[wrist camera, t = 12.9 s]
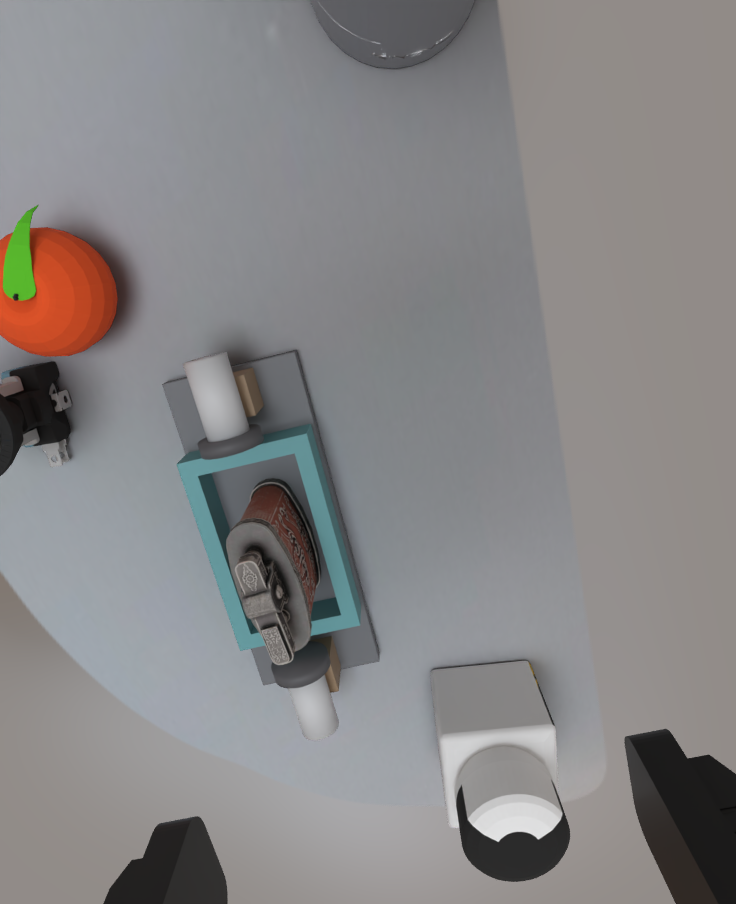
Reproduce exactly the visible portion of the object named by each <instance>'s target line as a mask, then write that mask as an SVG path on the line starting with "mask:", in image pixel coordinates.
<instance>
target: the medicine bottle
mask: <svg viewBox="0 0 736 904" xmlns="http://www.w3.org/2000/svg"><path fill="white" fill-rule="evenodd" d="M430 678H431V687H432V697H433V706H434V715H435V724H436V733H437V742H438V751H439V759H440V766H441V774H442V781H443V789H444V797H445V804H446V811H447V819H448V823H449V826H450V827H452V828H460V835H461V841H462V847H463V850H464V853H465V855H466V857H467V858H468V860H469V861H470V862H471V863H472V865H474V866H475V867H476V868H477V869H479V870H480V871H481V872H483V873H484V874H486V875H488V876H490V877H492V878H495V879H498V880H503V881H511V882H515V881H516V882H518V881H525V880H531V879H534V878H537V877H539V876H541V875H543V874H545V873H547V872H548V871H550V870H551V869H552V868H554V867H555V865H557V864H558V862H559V861H560V860H561V858H562V857H563V855H564V854H565V852H566V850H567V848H568V844H569V840H570V829H569V825H568V822H567V819H566V816H565V813H564V810H563V807H562V805H561V802H560V799H559V787H558V766H557V745H556V728H555V725H554V723H553V720H552V718H551V715H550V713H549V710H548V708H547V705H546V702H545V700H544V697H543V695H542V692H541V690H540V687H539V685H538V682H537V680H536V677H535V674H534V672H533V669H532V667H531V664H530V663H529V662H528V661H516V662H506V663H496V664H485V665H475V666H465V667H455V668H445V669H435V670H432V671H431V674H430Z"/></svg>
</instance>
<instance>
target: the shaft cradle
mask: <svg viewBox="0 0 736 904" xmlns="http://www.w3.org/2000/svg"><path fill="white" fill-rule="evenodd" d="M183 366H184V369H185V372H186V375H187V377H185V378H181V379H177V380H173V381H169V382H166V383H164V384H162V385H163V388H164V391H165V394H166V397H167V400H168V403H169V406H170V409H171V412H172V415H173V418H174V421H175V424H176V427H177V430H178V433H179V436H180V439H181V442H182V445H183V448H184V451H185V454H186V455H185V456H184V457H183V458H182V459H181V460H180V461H179V462H178V463H177V467H178V470H179V473H180V476H181V479H182V482H183V485H184V488H185V491H186V493H187V496H188V499H189V502H190V505H191V508H192V511H193V514H194V517H195V520H196V523H197V526H198V529H199V531H200V534H201V537H202V540H203V543H204V546H205V549H206V552H207V555H208V558H209V561H210V564H211V567H212V569H213V572H214V575H215V578H216V581H217V584H218V587H219V590H220V593H221V596H222V599H223V602H224V605H225V607H226V610H227V613H228V616H229V619H230V622H231V625H232V628H233V631H234V634H235V637H236V640H237V643H238V645H239V648H240V651H242V650H247V649H251V650H252V653H253V656H254V659H255V662H256V665H257V668H258V671H259V674H260V677H261V680H262V683H263V685H267V684H272V683H277V684H278V685H279V686H281V687H284V688H288V689H289V692H290V696H291V699H292V702H293V705H294V708H295V711H296V714H297V717H298V720H299V723H300V726H301V729H302V733H303V735H304V737H305V738H306V739H308V740H312V741H318V740H322V739H325V738H327V737H329V736H330V735H332V734H333V733H334V732H335V731H336V729H337V728H338V725H339V720H338V717H337V714H336V710H335V707H334V704H333V701H332V697H331V694H330V693H332V692H337V691H339V680H340V669H345V668H350V667H354V666H359V665H364V664H369V663H374V662H379V650H378V646H377V643H376V639H375V635H374V632H373V628H372V624H371V621H370V617H369V613H368V610H367V606H366V602H365V599H364V595H363V591H362V588H361V584H360V581H359V577H358V573H357V570H356V566H355V562H354V559H353V555H352V551H351V548H350V544H349V540H348V537H347V533H346V529H345V526H344V522H343V518H342V515H341V511H340V508H339V504H338V500H337V497H336V493H335V489H334V486H333V482H332V478H331V475H330V471H329V467H328V464H327V460H326V456H325V453H324V449H323V445H322V442H321V438H320V435H319V431H318V427H317V424H316V420H315V416H314V413H313V409H312V405H311V402H310V398H309V394H308V391H307V387H306V383H305V380H304V376H303V372H302V369H301V365H300V362H299V358H298V354H297V351H296V350H294V351H290V352H286V353H282V354H278V355H274V356H270V357H266V358H262V359H258V360H254V361H250V362H246V363H242V364H238V365H234V366H231V365H230V362H229V359H228V355H227V352H223V353H218V354H214V355H210V356H206V357H202V358H198V359H195V360H192V361H189V362H186V363H184V364H183ZM269 478H277V479H281V480H283V481H285V482H286V483H287V484H288V485H289V486H290V487H291V489H292V491H293V492H294V494H295V495H296V497H297V499H298V500H299V502H300V504H301V505H302V507H303V509H304V512H305V514H306V516H307V518H308V520H309V522H310V525H311V527H312V530H313V533H314V537H315V540H316V544H317V547H318V552H319V558H320V565H321V578H320V583H319V585H318V586H317V588H316V589H315V595H314V600H313V606H312V611H311V623H312V629H311V636H310V639H309V641H308V643H307V644H306V645H305V646H304V647H303V648H302V649H300V650H298V651H295V652H294V657H293V660H292V661H291V662H290V663H287V664H284V665H276V664H275V663H273V661H272V660H271V657H270V655H269V653H268V650H267V648H266V645H265V643H264V641H263V638H262V636H261V635H260V633H259V632H258V630H257V629H256V627H255V626H254V624H253V623H252V621H251V619H249V618H248V617H247V616H246V614H245V612H244V609H243V606H242V601H241V599H240V597H239V594H238V591H237V588H236V585H235V582H234V579H233V576H232V573H231V568H230V563H229V558H228V553H227V548H226V539H227V537H228V535H229V533H230V531H231V529H232V528H233V527H234V526H235V525H236V524H237V523H238V522H240V520H241V518H242V516H243V514H244V512H245V510H246V509H247V507H248V505H249V503H250V495H251V493H252V491H253V489H254V487H255V486H256V485H257V484H258V483H259V482H260V481H263V480H265V479H269Z"/></svg>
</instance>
